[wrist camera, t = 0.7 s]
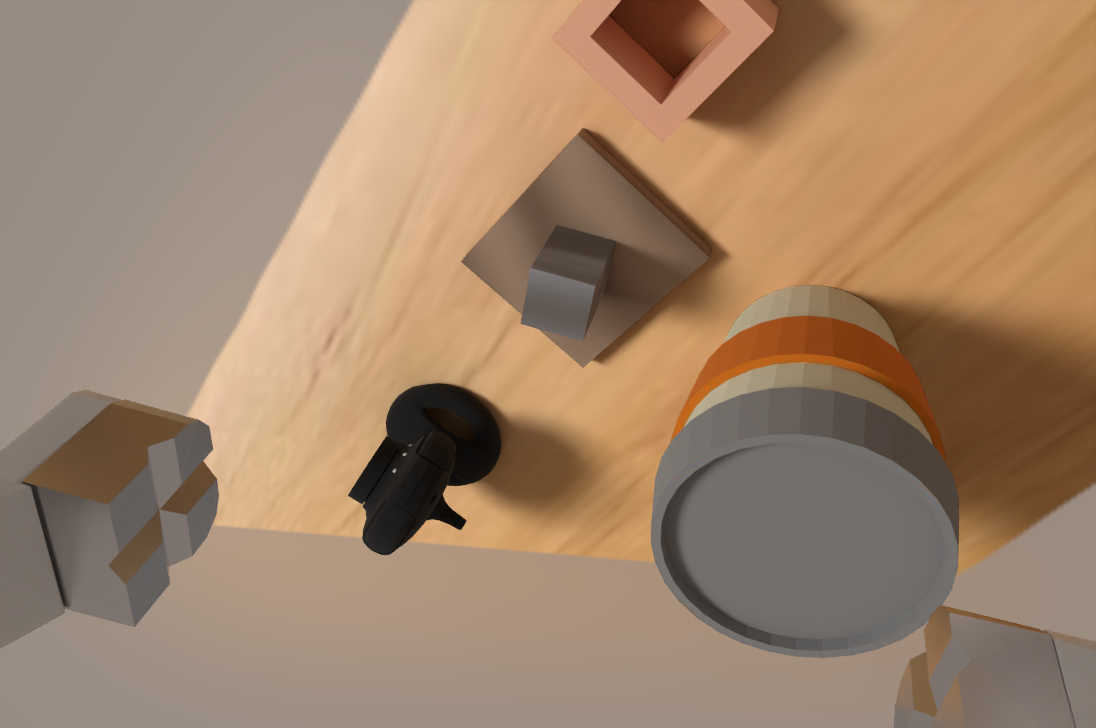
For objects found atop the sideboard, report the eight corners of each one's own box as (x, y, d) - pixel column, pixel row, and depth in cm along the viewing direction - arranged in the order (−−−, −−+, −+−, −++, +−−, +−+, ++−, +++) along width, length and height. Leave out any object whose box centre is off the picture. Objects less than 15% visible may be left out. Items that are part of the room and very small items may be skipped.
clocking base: (582, 128, 46) (552, 172, 42) (712, 249, 48) (697, 305, 43) (467, 254, 52) (428, 305, 47) (587, 358, 54) (561, 418, 49)
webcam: (421, 357, 57) (350, 457, 49) (524, 423, 57) (472, 533, 49) (372, 436, 61) (300, 540, 53) (469, 496, 62) (412, 608, 54)
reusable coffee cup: (684, 252, 49) (632, 419, 36) (946, 251, 45) (984, 436, 33) (695, 447, 55) (653, 644, 43) (925, 460, 52) (950, 678, 39)
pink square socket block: (671, -102, 40) (656, -89, 37) (779, 9, 41) (773, 30, 38) (573, 16, 44) (551, 37, 40) (675, 114, 45) (662, 142, 42)
